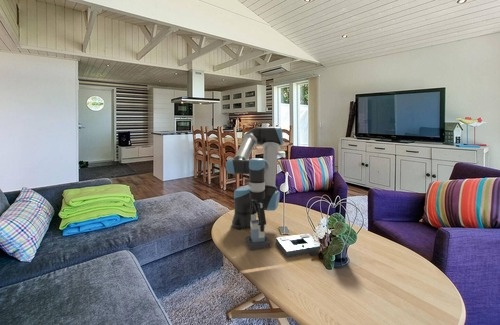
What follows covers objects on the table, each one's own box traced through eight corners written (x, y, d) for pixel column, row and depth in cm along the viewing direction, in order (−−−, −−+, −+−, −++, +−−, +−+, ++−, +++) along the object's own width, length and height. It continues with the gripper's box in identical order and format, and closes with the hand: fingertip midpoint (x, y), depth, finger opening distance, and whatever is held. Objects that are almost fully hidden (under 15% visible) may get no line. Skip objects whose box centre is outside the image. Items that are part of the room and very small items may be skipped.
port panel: (275, 245, 130) (275, 236, 130) (308, 240, 135) (308, 232, 134) (286, 259, 117) (286, 249, 116) (322, 253, 122) (322, 244, 121)
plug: (250, 243, 131) (250, 220, 129) (262, 241, 133) (262, 219, 131) (252, 247, 127) (252, 223, 125) (265, 245, 129) (264, 222, 127)
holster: (245, 243, 133) (245, 236, 133) (264, 240, 136) (264, 234, 135) (250, 252, 124) (250, 245, 123) (270, 249, 126) (270, 242, 126)
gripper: (243, 185, 136) (244, 223, 140) (257, 197, 113) (257, 243, 116) (257, 184, 138) (257, 221, 141) (273, 196, 115) (273, 241, 118)
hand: (257, 231), depth 129 cm, fingers open, 13 cm apart
